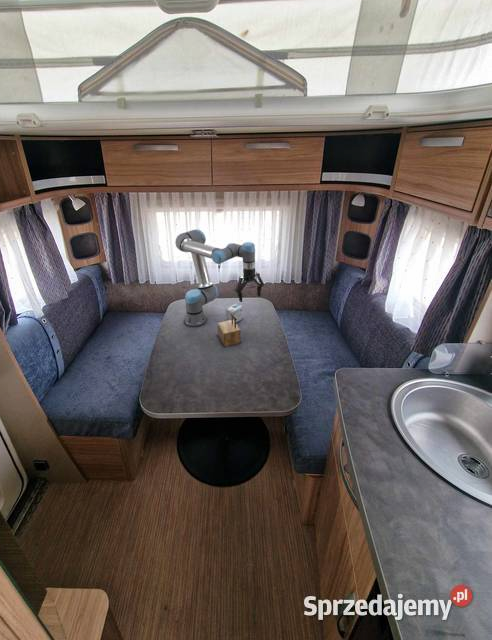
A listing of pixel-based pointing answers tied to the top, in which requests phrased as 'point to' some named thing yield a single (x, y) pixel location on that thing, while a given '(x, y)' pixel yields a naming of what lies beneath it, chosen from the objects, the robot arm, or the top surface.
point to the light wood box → (229, 332)
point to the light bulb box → (234, 312)
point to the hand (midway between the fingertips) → (249, 298)
